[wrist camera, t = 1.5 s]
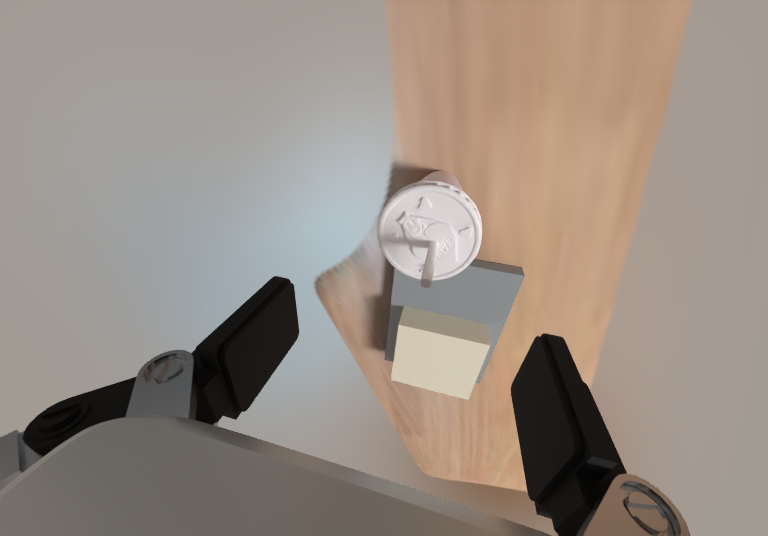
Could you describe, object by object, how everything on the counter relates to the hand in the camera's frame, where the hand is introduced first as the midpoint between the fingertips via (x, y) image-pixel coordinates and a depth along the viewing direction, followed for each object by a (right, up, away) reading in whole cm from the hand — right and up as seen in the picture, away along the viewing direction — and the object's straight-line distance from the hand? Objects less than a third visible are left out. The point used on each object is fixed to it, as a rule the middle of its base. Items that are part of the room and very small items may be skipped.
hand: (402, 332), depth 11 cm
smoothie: (+4, +9, +14) cm, 17 cm away
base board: (+6, -3, +21) cm, 22 cm away
